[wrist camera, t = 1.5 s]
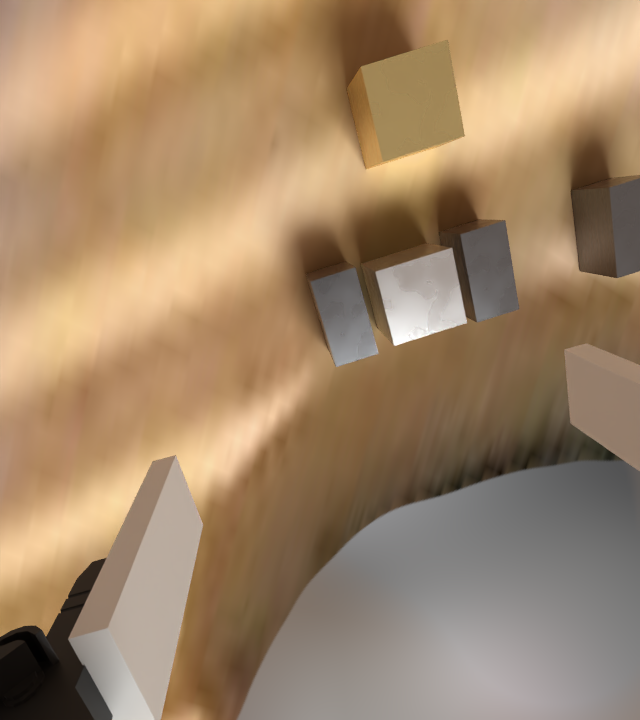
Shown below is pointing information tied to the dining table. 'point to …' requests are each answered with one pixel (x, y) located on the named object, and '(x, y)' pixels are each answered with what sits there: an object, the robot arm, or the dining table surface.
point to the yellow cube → (405, 104)
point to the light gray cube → (414, 292)
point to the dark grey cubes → (489, 265)
